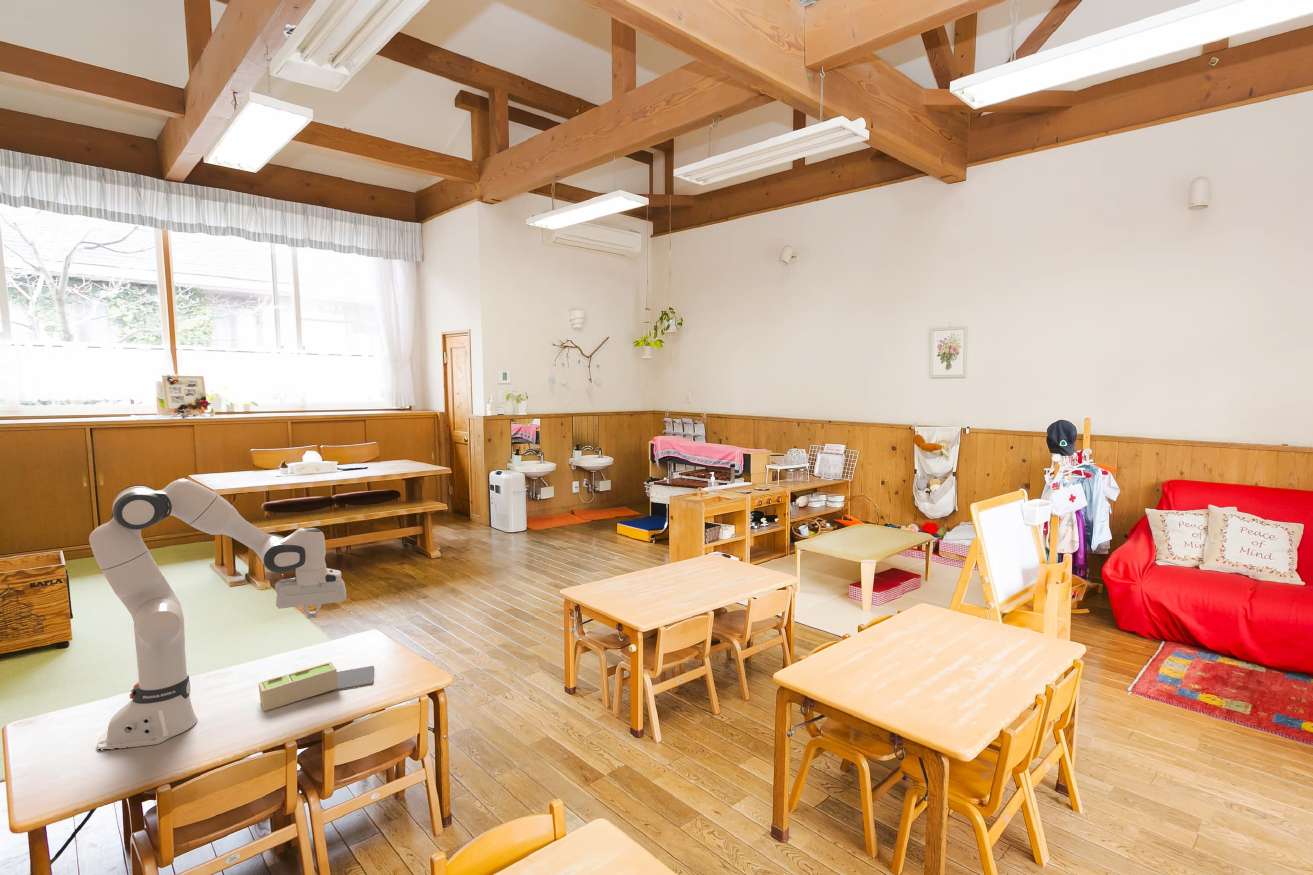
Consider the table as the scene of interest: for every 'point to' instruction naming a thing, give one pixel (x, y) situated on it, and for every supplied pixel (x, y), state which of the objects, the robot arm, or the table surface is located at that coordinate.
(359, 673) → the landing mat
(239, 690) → the table surface
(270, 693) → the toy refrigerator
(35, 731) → the table surface
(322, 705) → the table surface
